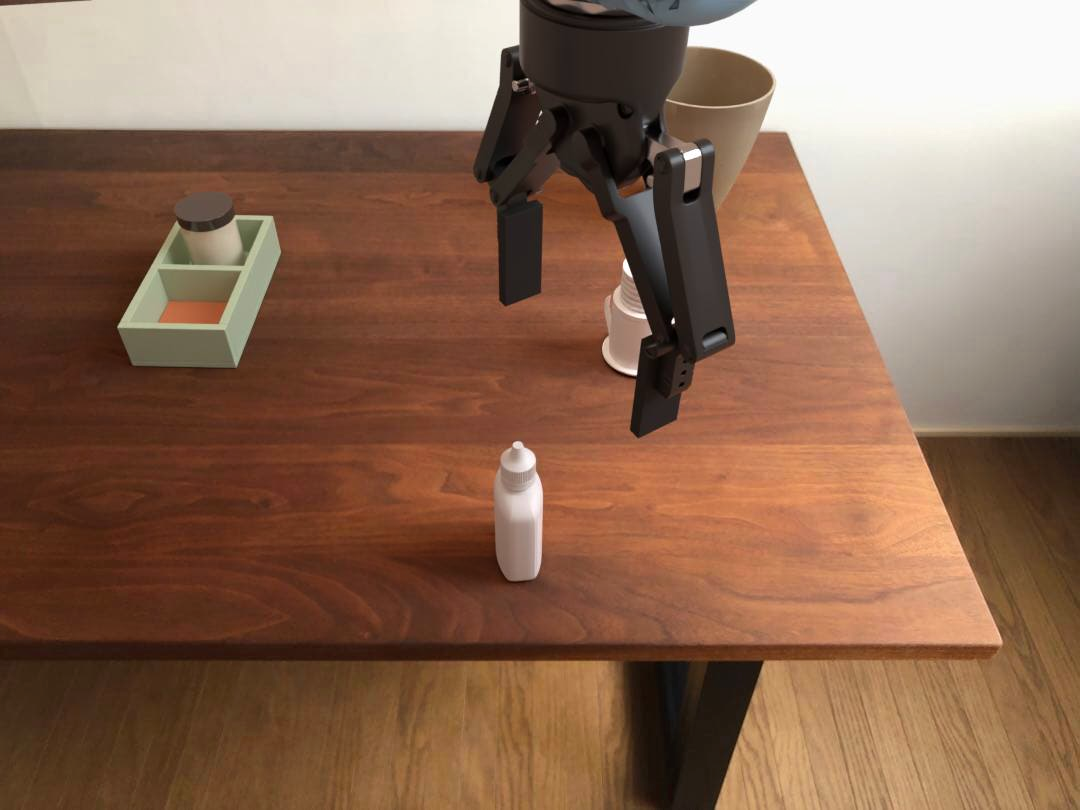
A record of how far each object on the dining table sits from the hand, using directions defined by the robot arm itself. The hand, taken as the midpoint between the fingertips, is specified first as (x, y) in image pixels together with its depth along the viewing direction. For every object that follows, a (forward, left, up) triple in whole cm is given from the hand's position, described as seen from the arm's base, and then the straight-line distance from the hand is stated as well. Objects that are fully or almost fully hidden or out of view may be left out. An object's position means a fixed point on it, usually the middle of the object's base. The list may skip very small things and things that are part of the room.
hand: (581, 356), depth 53 cm
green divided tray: (-12, +45, -20) cm, 50 cm away
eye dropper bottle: (-3, +3, -21) cm, 21 cm away
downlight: (+19, +16, -21) cm, 32 cm away
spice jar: (-9, +48, -20) cm, 53 cm away
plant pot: (+39, +33, -21) cm, 55 cm away
